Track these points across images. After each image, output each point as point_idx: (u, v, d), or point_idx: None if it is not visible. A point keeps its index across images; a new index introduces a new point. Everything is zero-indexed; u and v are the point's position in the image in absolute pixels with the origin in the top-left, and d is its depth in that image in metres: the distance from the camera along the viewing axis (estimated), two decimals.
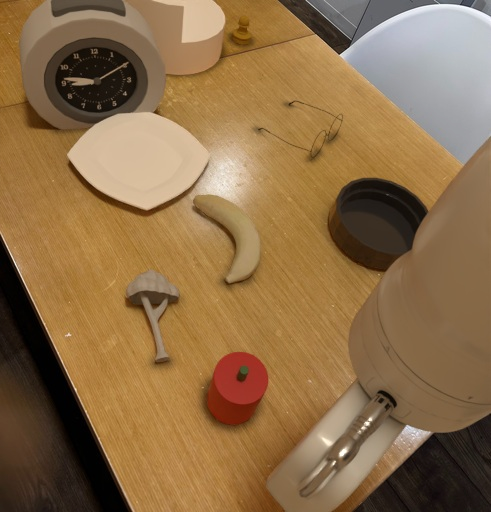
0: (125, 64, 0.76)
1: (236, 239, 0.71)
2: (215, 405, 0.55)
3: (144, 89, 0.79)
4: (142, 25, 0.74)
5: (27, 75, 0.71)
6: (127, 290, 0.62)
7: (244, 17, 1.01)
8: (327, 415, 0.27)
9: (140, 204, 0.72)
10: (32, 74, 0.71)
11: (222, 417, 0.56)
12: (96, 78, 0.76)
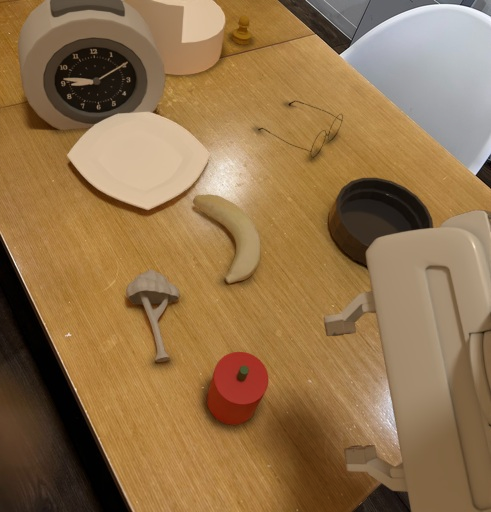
0: (125, 64, 0.76)
1: (236, 239, 0.71)
2: (215, 405, 0.55)
3: (143, 89, 0.79)
4: (141, 25, 0.74)
5: (26, 76, 0.71)
6: (127, 290, 0.62)
7: (244, 17, 1.01)
8: None
9: (141, 204, 0.72)
10: (32, 75, 0.71)
11: (222, 417, 0.56)
12: (95, 78, 0.76)
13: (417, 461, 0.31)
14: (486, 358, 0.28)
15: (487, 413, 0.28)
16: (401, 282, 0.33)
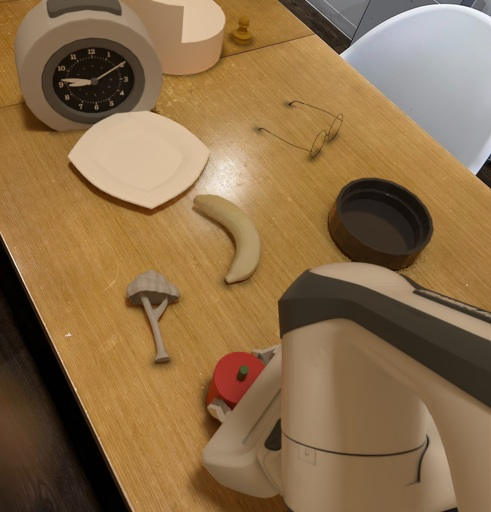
0: (122, 64, 0.76)
1: (236, 239, 0.71)
2: None
3: (141, 88, 0.79)
4: (138, 24, 0.74)
5: (24, 77, 0.71)
6: (127, 290, 0.62)
7: (244, 17, 1.01)
8: None
9: (144, 203, 0.72)
10: (30, 76, 0.71)
11: None
12: (93, 78, 0.76)
13: (236, 413, 0.48)
14: None
15: None
16: None
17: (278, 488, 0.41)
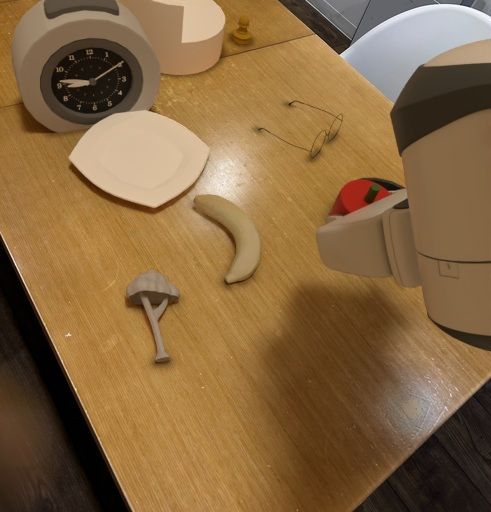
0: (120, 64, 0.76)
1: (236, 239, 0.71)
2: None
3: (139, 87, 0.79)
4: (135, 23, 0.74)
5: (23, 79, 0.71)
6: (127, 290, 0.62)
7: (244, 17, 1.01)
8: None
9: (148, 202, 0.72)
10: (28, 78, 0.71)
11: None
12: (91, 79, 0.76)
13: (360, 210, 0.46)
14: None
15: None
16: None
17: (394, 255, 0.38)
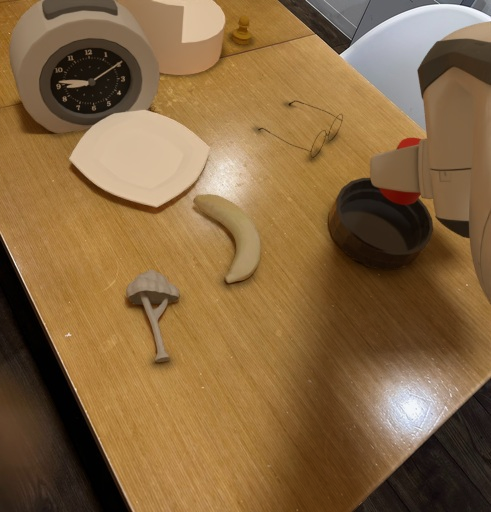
0: (119, 64, 0.76)
1: (236, 239, 0.71)
2: None
3: (138, 87, 0.79)
4: (134, 23, 0.74)
5: (22, 80, 0.71)
6: (127, 290, 0.62)
7: (244, 17, 1.01)
8: None
9: (149, 202, 0.72)
10: (27, 79, 0.71)
11: None
12: (91, 79, 0.75)
13: None
14: None
15: None
16: None
17: (422, 171, 0.53)
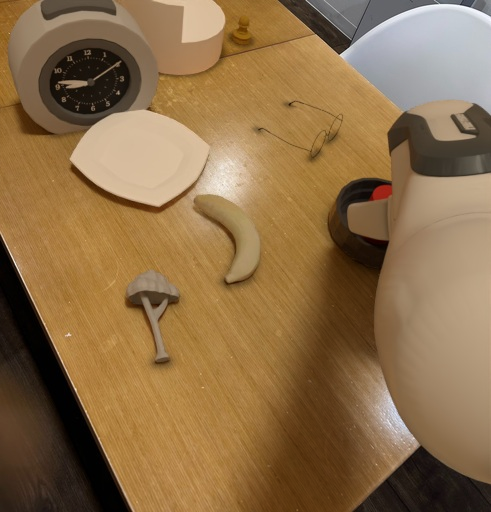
0: (118, 63, 0.76)
1: (236, 239, 0.71)
2: None
3: (137, 87, 0.79)
4: (132, 23, 0.74)
5: (21, 81, 0.70)
6: (127, 290, 0.62)
7: (244, 17, 1.01)
8: None
9: (151, 201, 0.72)
10: (27, 80, 0.71)
11: None
12: (90, 79, 0.75)
13: (383, 199, 0.67)
14: None
15: None
16: None
17: (391, 223, 0.60)
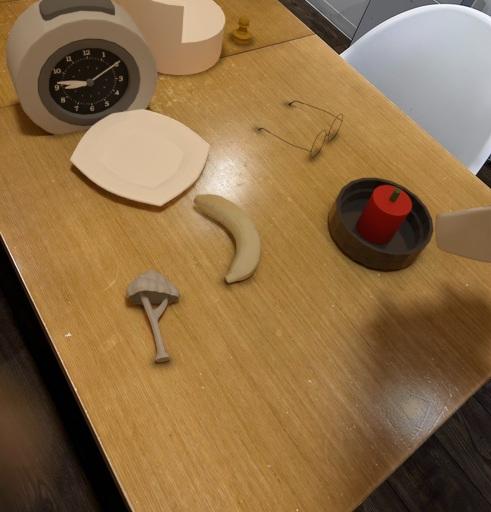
0: (117, 63, 0.76)
1: (236, 239, 0.71)
2: (363, 215, 0.75)
3: (136, 86, 0.79)
4: (131, 22, 0.74)
5: (20, 82, 0.70)
6: (127, 290, 0.62)
7: (244, 17, 1.01)
8: None
9: (153, 201, 0.72)
10: (26, 81, 0.70)
11: (363, 228, 0.76)
12: (89, 79, 0.75)
13: (481, 207, 0.51)
14: None
15: None
16: None
17: None
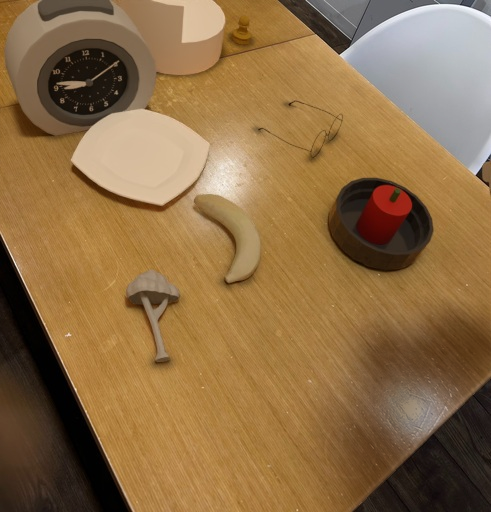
0: (116, 63, 0.76)
1: (236, 239, 0.71)
2: (363, 215, 0.75)
3: (135, 86, 0.79)
4: (129, 22, 0.74)
5: (20, 83, 0.70)
6: (127, 290, 0.62)
7: (244, 17, 1.01)
8: None
9: (154, 200, 0.73)
10: (25, 82, 0.70)
11: (363, 228, 0.76)
12: (88, 80, 0.75)
13: None
14: None
15: None
16: None
17: None
